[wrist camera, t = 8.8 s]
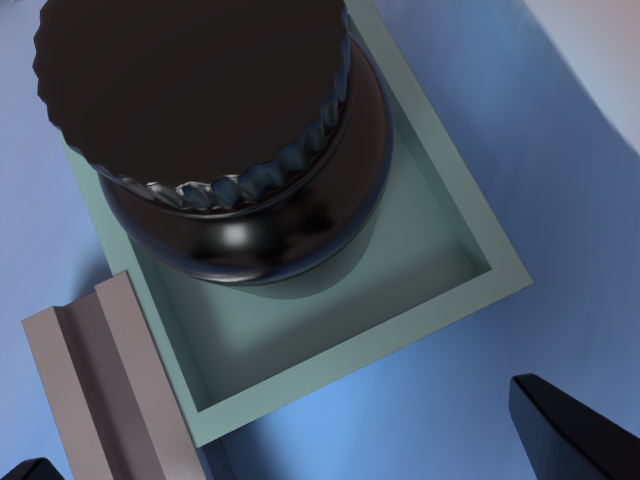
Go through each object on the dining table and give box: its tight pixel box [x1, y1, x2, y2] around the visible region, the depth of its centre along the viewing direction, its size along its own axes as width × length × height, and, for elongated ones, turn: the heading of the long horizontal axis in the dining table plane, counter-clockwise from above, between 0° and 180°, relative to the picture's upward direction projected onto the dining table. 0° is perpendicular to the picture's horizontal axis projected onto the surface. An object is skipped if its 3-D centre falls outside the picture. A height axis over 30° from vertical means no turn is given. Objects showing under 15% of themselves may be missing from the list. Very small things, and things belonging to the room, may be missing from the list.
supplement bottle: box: [32, 0, 394, 300], centre depth 13 cm, size 7×7×12 cm
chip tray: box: [56, 0, 534, 448], centre depth 18 cm, size 13×13×2 cm
